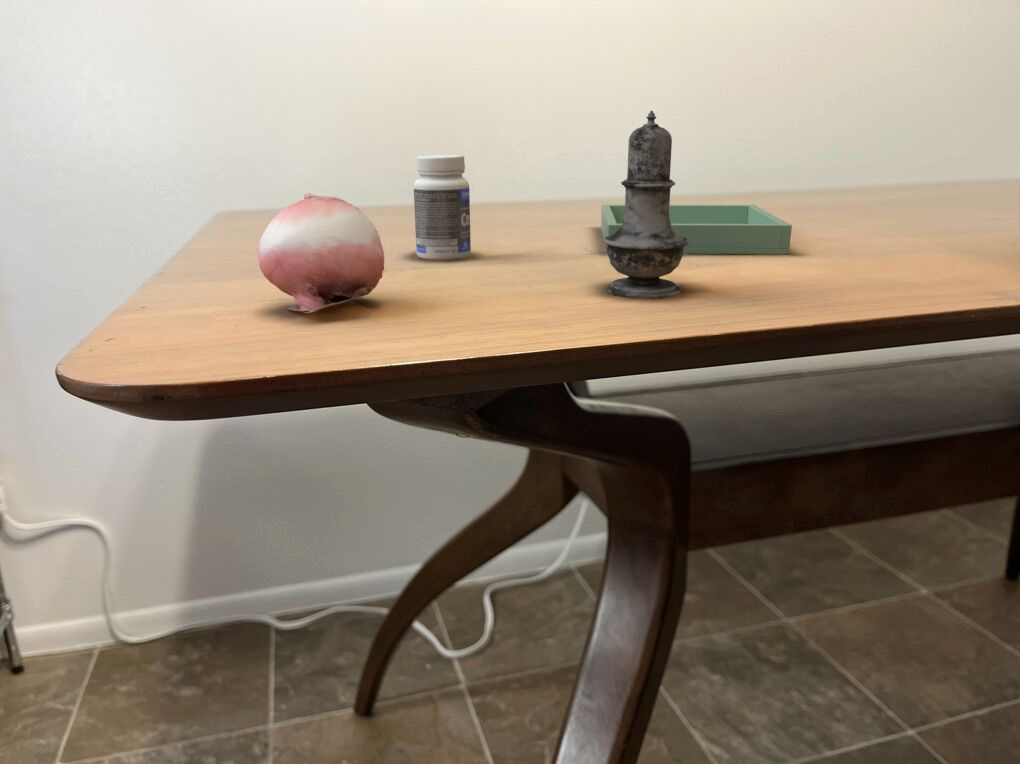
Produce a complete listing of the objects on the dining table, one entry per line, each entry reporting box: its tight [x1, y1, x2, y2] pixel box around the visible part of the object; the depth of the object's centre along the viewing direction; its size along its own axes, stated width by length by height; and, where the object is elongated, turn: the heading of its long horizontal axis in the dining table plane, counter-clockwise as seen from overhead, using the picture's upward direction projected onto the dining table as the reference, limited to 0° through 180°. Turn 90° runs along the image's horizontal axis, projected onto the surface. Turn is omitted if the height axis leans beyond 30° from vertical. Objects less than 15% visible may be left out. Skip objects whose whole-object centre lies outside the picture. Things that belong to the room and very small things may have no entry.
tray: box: [600, 204, 793, 255], centre depth 77 cm, size 16×15×2 cm
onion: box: [257, 192, 385, 314], centre depth 52 cm, size 8×8×7 cm
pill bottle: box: [413, 154, 472, 261], centre depth 69 cm, size 5×5×8 cm
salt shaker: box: [602, 110, 689, 300], centre depth 55 cm, size 6×6×12 cm
